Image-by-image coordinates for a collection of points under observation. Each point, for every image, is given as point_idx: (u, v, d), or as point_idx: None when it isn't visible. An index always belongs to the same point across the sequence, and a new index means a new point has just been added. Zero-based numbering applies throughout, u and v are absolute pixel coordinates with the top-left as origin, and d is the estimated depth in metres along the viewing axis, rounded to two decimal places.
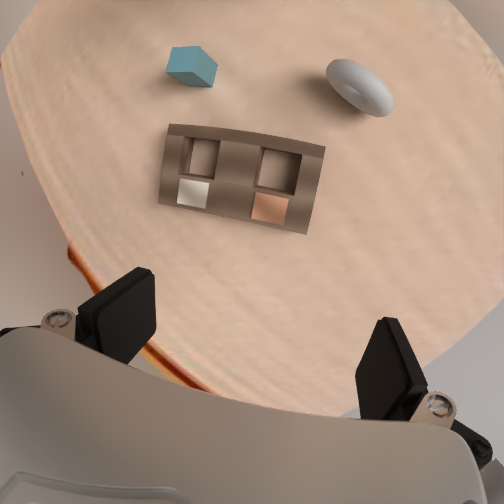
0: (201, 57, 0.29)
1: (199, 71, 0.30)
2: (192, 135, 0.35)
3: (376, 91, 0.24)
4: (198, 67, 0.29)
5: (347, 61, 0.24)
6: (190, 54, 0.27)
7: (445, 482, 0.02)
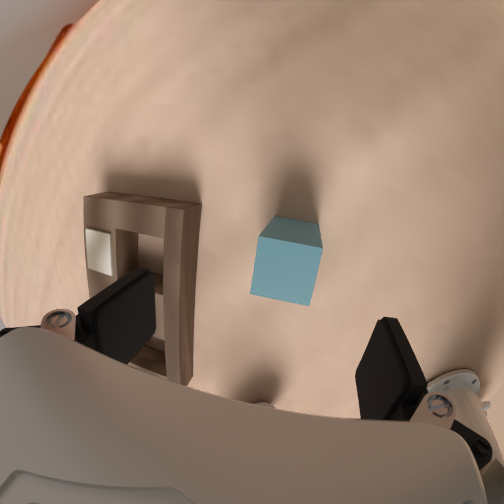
0: None
1: None
2: (165, 253, 0.23)
3: None
4: None
5: None
6: (292, 289, 0.17)
7: (445, 482, 0.02)
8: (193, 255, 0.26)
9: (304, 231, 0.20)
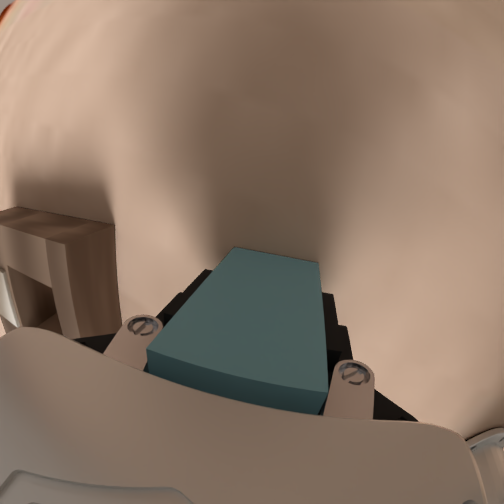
0: None
1: None
2: (58, 311, 0.12)
3: None
4: None
5: None
6: None
7: (445, 482, 0.02)
8: (109, 308, 0.14)
9: (285, 300, 0.09)
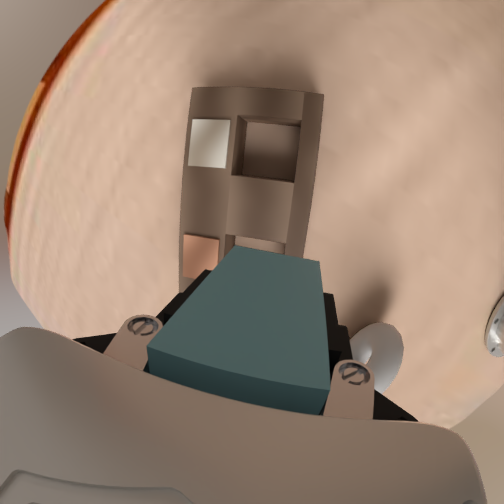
0: None
1: None
2: (302, 135, 0.21)
3: None
4: None
5: (396, 371, 0.21)
6: None
7: (445, 482, 0.02)
8: None
9: (287, 298, 0.08)
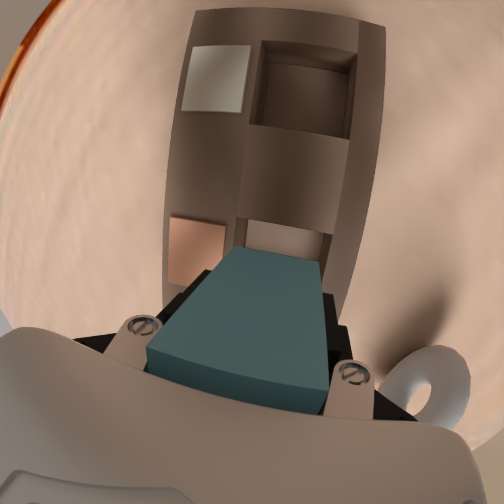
0: None
1: None
2: (360, 72, 0.12)
3: None
4: None
5: (463, 411, 0.12)
6: None
7: (445, 482, 0.02)
8: None
9: (286, 298, 0.08)
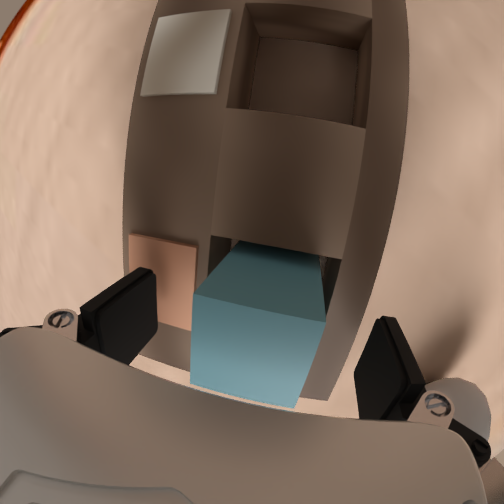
0: None
1: None
2: (377, 41, 0.08)
3: None
4: None
5: None
6: (263, 386, 0.09)
7: (445, 482, 0.02)
8: None
9: (292, 268, 0.11)
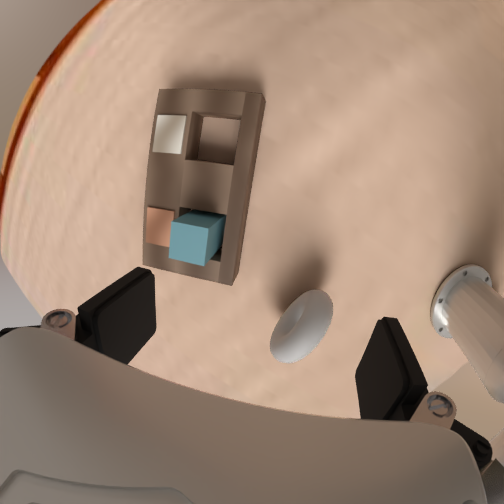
0: None
1: None
2: (241, 127, 0.26)
3: (285, 355, 0.28)
4: None
5: (323, 330, 0.27)
6: (192, 255, 0.27)
7: (445, 482, 0.02)
8: (258, 139, 0.29)
9: (208, 218, 0.30)
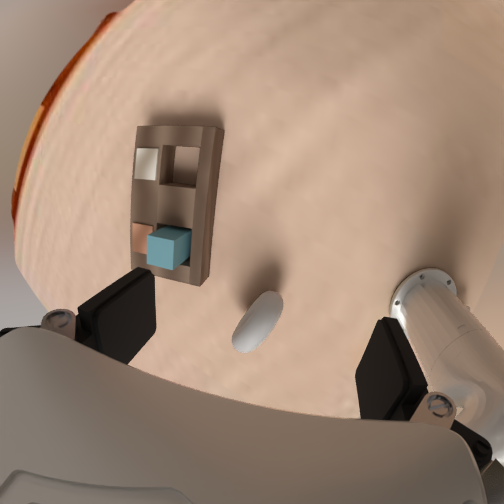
0: None
1: None
2: (200, 156, 0.33)
3: (239, 345, 0.34)
4: None
5: (269, 324, 0.33)
6: (164, 261, 0.34)
7: (445, 482, 0.02)
8: (217, 164, 0.36)
9: (178, 231, 0.36)
